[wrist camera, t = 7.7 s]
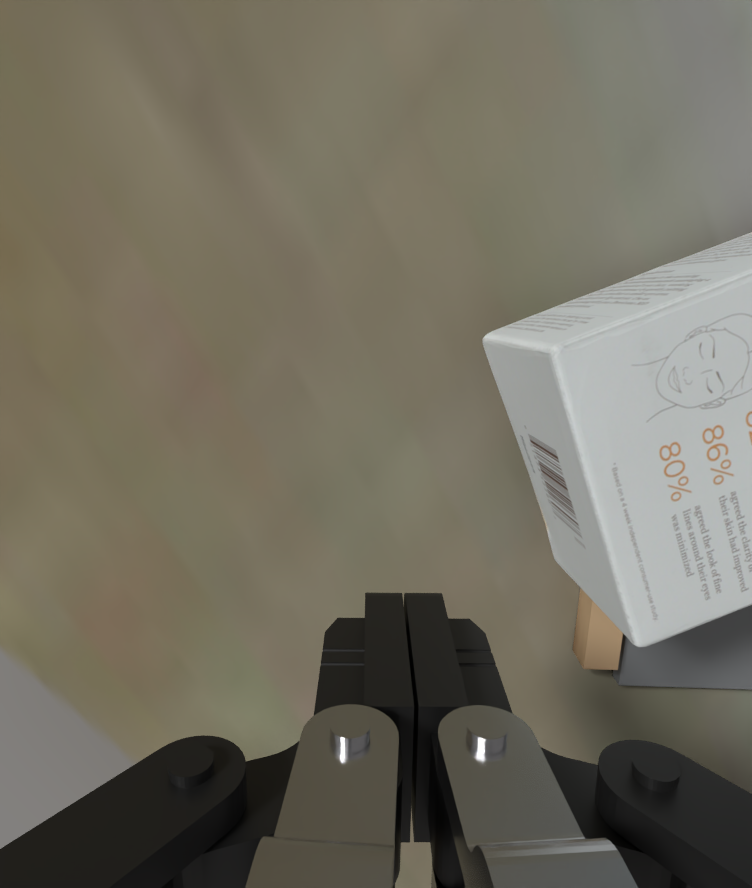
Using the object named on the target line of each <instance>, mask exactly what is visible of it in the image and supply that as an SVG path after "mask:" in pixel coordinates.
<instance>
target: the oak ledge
mask: <svg viewBox="0 0 752 888" xmlns="http://www.w3.org/2000/svg"><path fill="white" fill-rule="evenodd" d="M622 637H623V633H622V632H621V631H620V629H619V628H618V627H617V626H616V625H615V624H614V623H613V622H612V621H611V620H610V619H609V617H608V616H607V615H606V614H605V613H604V612H603V611H602V610H601V609H600V608H599V607H598V606H597V605H596V604H595V603H594V601H593V600H592V599H591V598H590V597H589V596H588V595H587V594H586V593H585V592H584V591H583V590H582V589H581V588H580V596H579V604H578V612H577V620H576V628H575V636H574V644H573V651H574V653H575V655H576V657H577V658H578V660H579V662H580V664H581V665H582V667H583V669H601V670H618V664H619V657H620V651H621V644H622Z"/></svg>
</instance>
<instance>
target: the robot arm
mask: <svg viewBox="0 0 752 888" xmlns="http://www.w3.org/2000/svg"><path fill="white" fill-rule="evenodd" d="M411 809H412V821H413V833H414V842H430V844H431V853H432V878H431V888H752V794H750V793H749V792H747V791H745V790H743V789H742V788H740V787H738V786H736V785H735V784H733V783H731V782H729V781H727V780H726V779H724V778H722V777H720V776H719V775H717V774H715V773H713V772H712V771H710V770H708V769H706V768H705V767H703V766H701V765H699V764H698V763H696V762H694V761H692V760H691V759H689V758H687V757H685V756H683V755H682V754H680V753H678V752H676V751H674V750H672V749H670V748H667V747H665V746H662V745H659V744H656V743H652V742H647V741H640V740H625V741H619V742H616V743H613V744H611V745H609V746H607V747H606V748H605V749H604V750H603V751H602V753H601V755H600V757H599V762H598V765H595V764H590V763H586V762H582V761H578V760H574V759H570V758H566V757H563V756H559V755H557V754H554V753H552V752H549V751H547V750H545V749H543V748H541V747H540V745H539V743H538V741H537V739H536V737H535V735H534V733H533V731H532V730H531V728H530V727H529V726H528V725H527V724H526V723H525V722H524V721H523V720H522V719H520V718H519V717H517V716H516V715H514V714H513V713H512V710H511V708H510V705H509V702H508V699H507V696H506V693H505V690H504V687H503V684H502V681H501V678H500V675H499V672H498V669H497V667H496V666H495V661H494V658H493V655H492V653H491V649H490V646H489V643H488V640H487V637H486V634H485V633H484V632H483V631H482V630H481V629H480V628H479V627H478V626H477V625H476V624H474V623H473V622H472V621H471V620H470V619H448V617H447V612H446V608H445V604H444V600H443V596H442V593H405V594H404V607H403V598H402V593H365V618H337V619H336V621H335V622H334V623H333V624H332V625H331V626H330V627H329V628H328V629H327V630H326V632H325V637H324V644H323V652H322V659H321V666H320V674H319V681H318V689H317V696H316V703H315V711H314V716H313V717H312V718H311V719H310V720H309V721H308V722H307V723H306V725H305V726H304V728H303V731H302V733H301V737H300V741H299V742H297V743H296V744H295V745H293V746H292V747H290V748H288V749H286V750H284V751H282V752H280V753H277V754H274V755H271V756H267V757H263V758H259V759H255V760H251V761H246V762H245V757H244V755H243V752H242V751H241V750H240V749H239V747H238V746H236V745H235V744H234V743H232V742H230V741H229V740H226V739H223V738H220V737H215V736H194V737H188V738H184V739H181V740H177V741H175V742H172V743H170V744H168V745H166V746H164V747H162V748H161V749H159V750H157V751H156V752H154V753H153V754H151V755H149V756H148V757H146V758H145V759H143V760H141V761H140V762H138V763H137V764H135V765H133V766H132V767H130V768H129V769H127V770H125V771H124V772H122V773H121V774H119V775H117V776H116V777H115V778H113V779H111V780H110V781H108V782H107V783H105V784H103V785H102V786H100V787H98V788H97V789H95V790H94V791H92V792H90V793H89V794H87V795H86V796H84V797H83V798H81V799H79V800H78V801H76V802H75V803H73V804H71V805H70V806H68V807H66V808H65V809H63V810H62V811H60V812H58V813H57V814H55V815H54V816H52V817H51V818H49V819H47V820H46V821H44V822H43V823H41V824H39V825H38V826H36V827H35V828H33V829H32V830H30V831H28V832H27V833H25V834H23V835H22V836H20V837H19V838H17V839H15V840H14V841H12V842H11V843H9V844H8V845H6V846H4V847H3V848H2V849H0V888H395V882H396V880H397V878H398V875H399V871H400V848H401V842H410V820H411Z"/></svg>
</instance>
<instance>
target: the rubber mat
mask: <svg viewBox="0 0 752 888" xmlns="http://www.w3.org/2000/svg"><path fill="white" fill-rule="evenodd" d="M612 676H613V677H614V679H615V680H616V682H617V683H618V685H625V686H658V687H690V688H722V689H752V605H750V606H748V607H745V608H742V609H740V610H737V611H735V612H732V613H730V614H727V615H725V616H722V617H720V618H718V619H715V620H712V621H710V622H707V623H705V624H702V625H700V626H697V627H695V628H692V629H690V630H688V631H685V632H683V633H680V634H677V635H675V636H673V637H670V638H668V639H665V640H663V641H660V642H658V643H655V644H652V645H650V646H647V647H637V646H635V645H633V644H632V643H631V642H630V640H629V639H628V638H627V637H626V636H625V635H624V634H623V637H622V644H621V651H620V657H619V664H618V670H613V675H612Z"/></svg>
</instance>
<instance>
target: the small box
mask: <svg viewBox="0 0 752 888" xmlns="http://www.w3.org/2000/svg"><path fill="white" fill-rule="evenodd" d="M483 346H484V349H485V352H486V355H487V358H488V361H489V364H490V367H491V370H492V372H493V375H494V378H495V381H496V383H497V386H498V389H499V392H500V394H501V397H502V400H503V403H504V405H505V408H506V411H507V414H508V417H509V419H510V422H511V425H512V428H513V430H514V433H515V436H516V439H517V442H518V444H519V447H520V450H521V453H522V456H523V458H524V461H525V464H526V467H527V470H528V473H529V476H530V479H531V482H532V485H533V488H534V491H535V494H536V498H537V501H538V503H539V506H540V509H541V512H542V516H543V519H544V522H545V525H546V528H547V532H548V536H549V540H550V544H551V548H552V552H553V556H554V559H555V561H556V562H557V563H558V564H559V565H560V566H561V567H562V568H563V569H564V571H565V572H566V573H567V574H568V575H569V576H570V577H571V578H572V579H573V580H574V581H575V582H576V583H577V584H578V585H579V586H580V587H581V589H582V590H583V591H584V592H585V593H586V594H587V595H588V596H589V597H590V598H591V599H592V600H593V601H594V603H595V604H596V605H597V606H598V607H599V608H600V609H601V610H602V611H603V612H604V613H605V614H606V615H607V616H608V617H609V619H610V620H611V621H612V622H613V623H614V624H615V625H616V626H617V627H618V628H619V629H620V631H621V632H622V633H623V634H624V635H625V636H626V637H627V638H628V639H629V640H630V642H631V643H632V644H633V645H635V646H637V647H647V646H650V645H652V644H655V643H658V642H660V641H663V640H665V639H668V638H670V637H673V636H675V635H677V634H680V633H683V632H685V631H688V630H690V629H692V628H695V627H697V626H700V625H702V624H705V623H707V622H710V621H712V620H715V619H718V618H720V617H722V616H725V615H727V614H730V613H732V612H735V611H737V610H740V609H742V608H745V607H748V606H750V605H752V232H751V233H748V234H746V235H743V236H740V237H738V238H735V239H732V240H730V241H727V242H725V243H722V244H719V245H717V246H714V247H711V248H709V249H706V250H704V251H701V252H698V253H696V254H693V255H690V256H688V257H685V258H682V259H679V260H677V261H674V262H671V263H668V264H665V265H663V266H660V267H657V268H655V269H652V270H650V271H647V272H645V273H642V274H640V275H637V276H635V277H632V278H630V279H627V280H624V281H622V282H619V283H617V284H614V285H611V286H609V287H606V288H604V289H601V290H598V291H596V292H593V293H590V294H588V295H585V296H582V297H580V298H577V299H574V300H571V301H569V302H566V303H563V304H561V305H558V306H556V307H553V308H551V309H548V310H545V311H543V312H540V313H538V314H535V315H532V316H530V317H527V318H525V319H522V320H520V321H517V322H515V323H512V324H509V325H507V326H504V327H502V328H499V329H497V330H494V331H491V332H490V333H488V334H487V335H485V337H484V338H483Z"/></svg>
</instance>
